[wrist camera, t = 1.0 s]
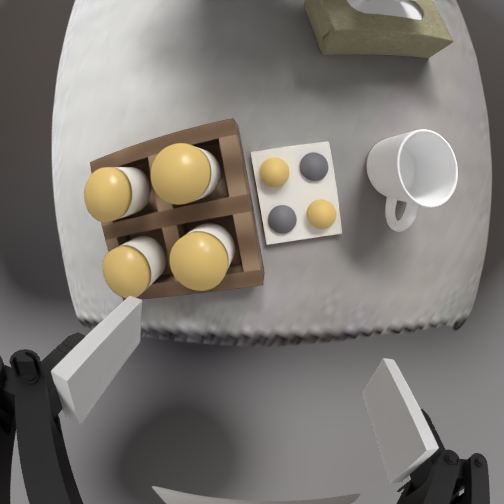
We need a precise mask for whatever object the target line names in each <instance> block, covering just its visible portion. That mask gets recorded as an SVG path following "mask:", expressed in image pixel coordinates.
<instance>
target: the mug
mask: <svg viewBox="0 0 504 504" xmlns="http://www.w3.org/2000/svg"><path fill="white" fill-rule="evenodd" d="M367 174H368V177H369V180H370V182H371V184H372V185H373V187H374V188H375V189H376V190H377V191H378V192H379V193H381V194H382V195H384V196H386V197H387V199H386V205H385V216H386V221H387V224H388V225H389V227H390V228H391V229H392V230H394V231H396V232H401V231H404V230H406V229H408V228H409V227H410V226H411V224H412V223H413V221H414V219H415V217H416V215H417V213H418V210H419V207H420V206H423V207H428V208H433V207H437V206H440V205H442V204H443V203H445V202H446V201H447V200H448V199H449V198H450V197H451V195H452V194H453V192H454V190H455V187H456V183H457V178H458V168H457V162H456V158H455V155H454V153H453V151H452V149H451V147H450V145H449V144H448V143H447V141H446V140H445V139H444V138H443V137H441V136H440V135H439V134H437V133H435V132H433V131H430V130H425V129H421V130H416V131H412V132H409V133H405V134H401V135H398V136H394V137H391V138H387V139H384V140H382V141H380V142H378V143H377V144H376V145H375V146H374V147H373V148H372V149H371V151H370V153H369V155H368V158H367ZM397 200H399V201H403V202H407V203H406V208H405V211H404V214H403V216H402V218H401V219H400V220H399V221H397V219H396V217H395V207H396V203H397Z"/></svg>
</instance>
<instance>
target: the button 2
mask: <svg viewBox="0 0 504 504" xmlns="http://www.w3.org/2000/svg"><path fill="white" fill-rule="evenodd" d="M165 268H166V254H165V252H164V249H163V248H162V246H161V245H160V244H159V243H158V242H157V241H156V240H155V239H153V238H151V237H148V236H139V237H136V238H134V239H132V240H130V241H128V242H126V243H124V244H122V245H120V246H119V247H117V248H115V249H113V250H111V251H110V252H109V253H108V254H107V255H106V256H105V258H104V261H103V275H104V278H105V281H106V283H107V284H108V286H109V287H110V289H111V290H112V291H113V292H115V293H116V294H117V295H119V296H121V297H124V298H128V297H129V296H132V297H138V296H139V295H141V294H142V293H143V292H144V291H145V290H146V289H147V288H148V287H149V286H150V285H151V284H152V283H153V282H154V281H155V280H156V279H158V278H159V277H160V276H161V275H162V273H163V272H164V270H165Z"/></svg>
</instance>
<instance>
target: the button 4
mask: <svg viewBox="0 0 504 504" xmlns="http://www.w3.org/2000/svg"><path fill="white" fill-rule="evenodd" d="M234 254H235V243H234V240H233V238H232V236H231V234H230V233H229V232H228V231H227V230H226V229H225V228H224V227H222V226H220V225H218V224H214V223H205V224H202V225H199V226H197V227H196V228H194V229H193V230H192V231H190V232H189V233H187V234H186V235H184V236H183V237H182V238H180V239H179V240H178V241H177V242H176V243H175V244H174V246H173V247H172V249H171V252H170V267H171V270H172V272H173V274H174V276H175V278H176V279H177V280H178V281H179V282H180V283H181V284H182V285H184V286H185V287H187V288H189V289H192V290H197V291H205V290H209V289H212V288H214V287H215V286H217V285H218V284H219V283H220V282H221V281H222V280H223V278H224V276H225V274H226V272H227V270H228V268H229V266H230V263H231V261H232V259H233V257H234Z"/></svg>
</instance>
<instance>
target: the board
mask: <svg viewBox="0 0 504 504" xmlns="http://www.w3.org/2000/svg"><path fill="white" fill-rule="evenodd" d="M177 143H185V144H189V145H192V146H195V147H198V148H201V149H203V150H206V151H208V152H210V153H211V154H212V155H213V156H214V157H215V158H216V159H217V161H218V163H219V165H220V170H221V176H220V181H219V183H218V186H217V187H216V189H215V190H214V191H213V192H212V193H211V194H210V195H208V196H206V197H204V198H201V199H198V200H195V201H192V202H189V203H186V204H181V205H176V204H171V203H168V202H166V201H164V200H163V199H161V198H160V197H159V196H158V195H157V193H156V192H155V190H154V188H153V186H152V182H151V168H152V164H153V162H154V160H155V158H156V156H157V155H158V154H159V153H160V152H161V151H162V150H163V149H164V148H166V147H168V146H170V145H172V144H177ZM90 166H91V172H92V173H93V172H95V171H96V170H98V169H100V168H104V167H134V168H137V169H140V170H141V171H142V172H144V173H145V175H146V176H147V178H148V180H149V182H150V188H151V193H150V198H149V201H148V203H147V205H146V206H145V207H144V208H143V209H142V210H141V211H140V212H138V213H135V214H132V215H129V216H126V217H123V218H120V219H117V220H114V221H111V222H101V224H102V228H103V232H104V236H105V240H106V244H107V248H108V252H110V251H111V250H113V249H115V248H117V247H119V246H120V245H122V244H124V243H126V242H128V241H130V240H132V239H134V238H136V237H139V236H148V237H151V238H153V239H155V240H156V241H157V242H158V243H159V244H160V245H161V246H162V248H163V249H164V252H165V254H166V268H165V270H164V272H163V273H162V275H161V276H160V277H159V278H158V279H156V280H155V281H154V282H153V283H152V284H151V285H150V286H149V287H148V288H147V289H146V290H145V291H144V292H143V293H142V294H141V295H139V296H138V297H135V298H138V299H149V298H159V297H168V296H178V295H187V294H195V293H204V292H212V291H221V290H229V289H236V288H244V287H252V286H259V285H263V281H264V267H263V262H262V256H261V250H260V244H259V239H258V233H257V227H256V222H255V216H254V210H253V205H252V199H251V194H250V188H249V183H248V177H247V171H246V166H245V160H244V155H243V150H242V144H241V139H240V133H239V128H238V125H237V123H236V122H235V120H234V119H233V118H232V119H227V120H223V121H218V122H214V123H210V124H205V125H201V126H197V127H193V128H190V129H186V130H182V131H178V132H175V133H171V134H168V135H165V136H161V137H158V138H155V139H152V140H149V141H146V142H142V143H139V144H137V145H134V146H131V147H128V148H125V149H122V150H120V151H117V152H114V153H112V154H109V155H107V156H104V157H101V158H99V159H97V160H94V161H92V162H90ZM205 223H214V224H218V225H220V226H222V227H224V228H225V229H226V230H227V231H228V232H229V233H230V234H231V236H232V238H233V240H234V243H235V254H234V257H233V259H232V261H231V263H230V266H229V268H228V270H227V272H226V274H225V276H224V278H223V280H222V281H221V282H220V283H219V284H218V285H217V286H215V287H214V288H212V289H209V290H205V291H197V290H192V289H189V288H187V287H185V286H184V285H182V284H181V283H180V282H179V281H178V280H177V279H176V278H175V276H174V274H173V272H172V270H171V267H170V252H171V249H172V247H173V246H174V244H175V243H176V242H177V241H178V240H179V239H180V238H182V237H183V236H184V235H186V234H187V233H189V232H190V231H192V230H193V229H194V228H196V227H197V226H199V225H202V224H205ZM125 299H126V298H124V297H123V300H125Z"/></svg>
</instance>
